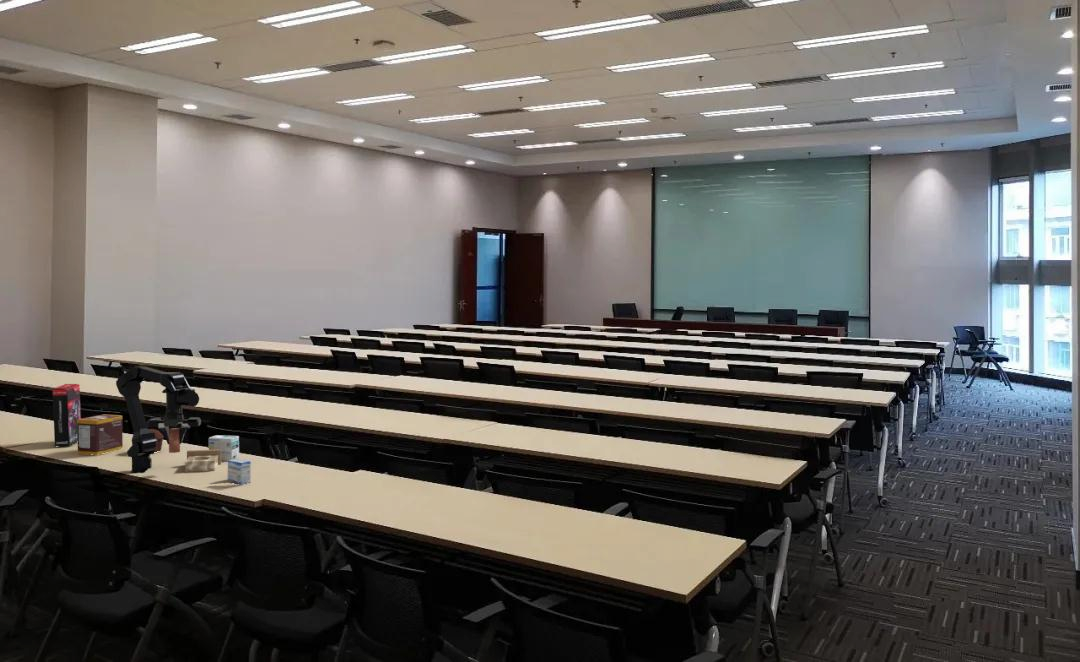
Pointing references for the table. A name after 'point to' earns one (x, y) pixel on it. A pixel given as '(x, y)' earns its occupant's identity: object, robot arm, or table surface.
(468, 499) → the table surface
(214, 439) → the light bulb box
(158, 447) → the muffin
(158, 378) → the robot arm
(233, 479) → the medicine box
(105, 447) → the supplement box
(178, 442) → the dowel
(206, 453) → the backstop board
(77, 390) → the graphics card box
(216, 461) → the beige ashtray
